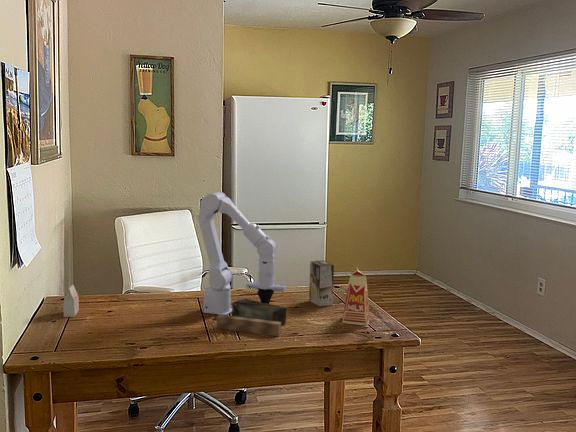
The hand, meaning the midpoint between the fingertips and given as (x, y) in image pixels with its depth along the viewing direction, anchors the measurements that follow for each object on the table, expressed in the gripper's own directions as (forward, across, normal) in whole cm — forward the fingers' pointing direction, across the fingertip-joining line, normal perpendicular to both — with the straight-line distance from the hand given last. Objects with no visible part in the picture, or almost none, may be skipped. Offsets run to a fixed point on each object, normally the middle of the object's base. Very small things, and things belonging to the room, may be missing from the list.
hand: (265, 309), depth 212 cm
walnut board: (+2, 0, -18) cm, 18 cm away
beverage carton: (+3, 0, -6) cm, 7 cm away
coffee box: (+3, +15, +24) cm, 28 cm away
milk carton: (+3, +32, +7) cm, 33 cm away
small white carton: (+3, -65, -23) cm, 69 cm away
